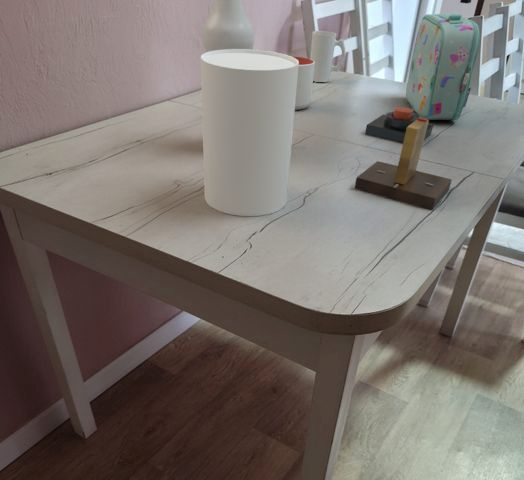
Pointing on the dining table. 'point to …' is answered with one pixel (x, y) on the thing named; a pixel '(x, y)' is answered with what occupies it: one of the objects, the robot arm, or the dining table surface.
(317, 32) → the mug
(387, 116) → the push button base
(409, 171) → the block
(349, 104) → the dining table surface
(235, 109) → the canister
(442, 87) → the lunch box
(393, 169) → the plate
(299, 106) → the cup
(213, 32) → the white bottle
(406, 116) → the bell button
